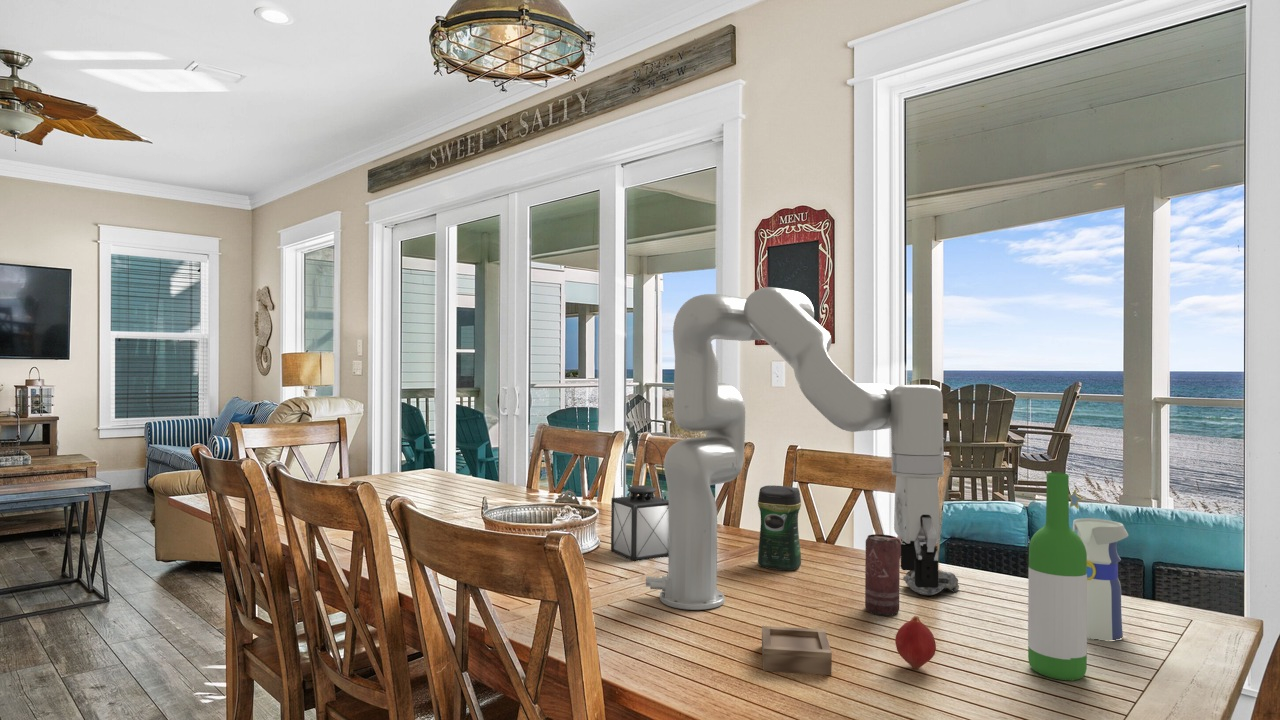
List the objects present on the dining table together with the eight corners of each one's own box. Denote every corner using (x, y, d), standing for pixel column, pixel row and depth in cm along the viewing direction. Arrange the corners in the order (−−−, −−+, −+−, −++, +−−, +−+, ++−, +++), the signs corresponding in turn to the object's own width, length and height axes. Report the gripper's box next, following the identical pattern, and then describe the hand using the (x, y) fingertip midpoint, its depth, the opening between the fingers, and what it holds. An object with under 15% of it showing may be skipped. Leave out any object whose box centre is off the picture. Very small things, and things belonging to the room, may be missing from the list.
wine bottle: (1099, 680, 109) (1100, 476, 110) (1054, 684, 108) (1054, 477, 108) (1059, 660, 117) (1060, 469, 117) (1016, 663, 115) (1017, 470, 116)
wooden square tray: (763, 670, 112) (763, 648, 112) (761, 646, 121) (762, 625, 122) (831, 675, 110) (831, 652, 110) (824, 650, 120) (824, 629, 120)
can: (902, 617, 136) (903, 541, 137) (866, 615, 138) (867, 539, 138) (898, 607, 142) (898, 534, 143) (863, 605, 144) (864, 532, 144)
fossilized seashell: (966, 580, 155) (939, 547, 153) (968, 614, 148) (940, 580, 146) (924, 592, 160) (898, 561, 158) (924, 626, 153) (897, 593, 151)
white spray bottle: (1108, 645, 123) (1109, 495, 124) (1059, 629, 131) (1059, 487, 131) (1137, 638, 127) (1137, 492, 128) (1087, 622, 135) (1087, 484, 135)
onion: (888, 660, 116) (889, 609, 116) (924, 660, 116) (924, 608, 117) (905, 676, 110) (905, 622, 110) (942, 675, 111) (942, 621, 111)
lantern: (610, 551, 184) (611, 438, 184) (649, 546, 190) (649, 436, 190) (632, 562, 174) (633, 442, 174) (672, 556, 180) (673, 440, 180)
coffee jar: (804, 565, 172) (805, 485, 173) (794, 573, 165) (795, 490, 166) (764, 560, 177) (765, 482, 177) (753, 567, 170) (754, 486, 170)
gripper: (881, 459, 123) (882, 563, 122) (903, 472, 106) (905, 593, 105) (929, 459, 122) (930, 565, 121) (959, 472, 105) (960, 595, 104)
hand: (918, 578), depth 113 cm, fingers open, 9 cm apart
